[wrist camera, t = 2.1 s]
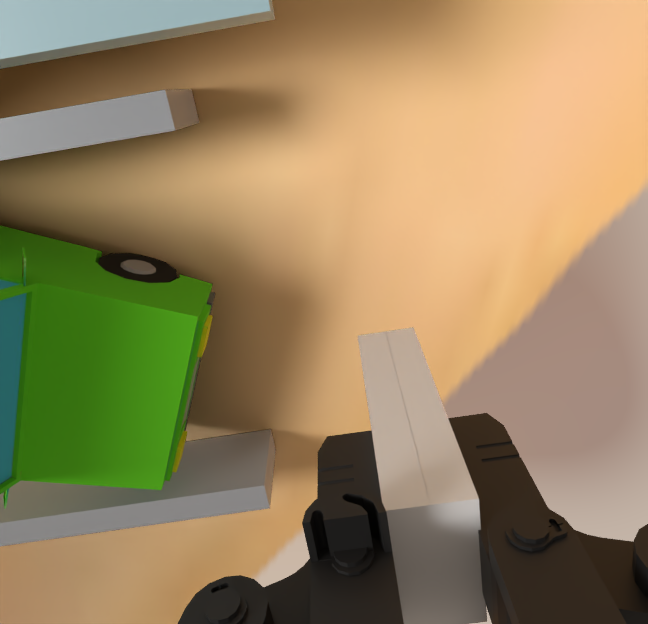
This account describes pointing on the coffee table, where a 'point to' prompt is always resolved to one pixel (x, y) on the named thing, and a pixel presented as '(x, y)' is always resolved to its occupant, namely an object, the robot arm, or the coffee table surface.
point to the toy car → (95, 363)
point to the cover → (111, 24)
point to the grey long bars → (199, 455)
